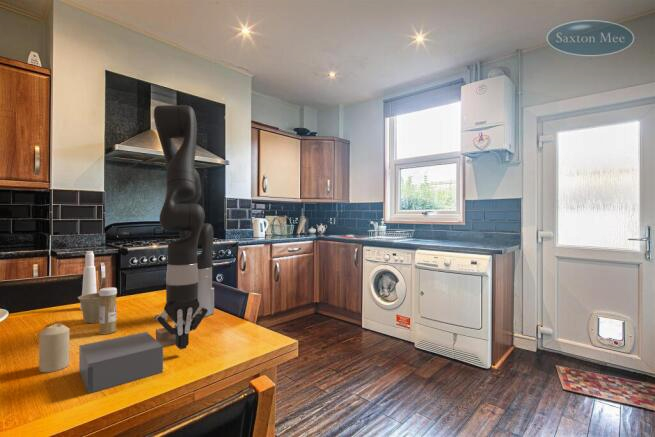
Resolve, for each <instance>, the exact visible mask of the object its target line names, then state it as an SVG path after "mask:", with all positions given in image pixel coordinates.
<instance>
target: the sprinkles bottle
mask: <svg viewBox="0 0 655 437" xmlns="http://www.w3.org/2000/svg"><path fill="white" fill-rule="evenodd" d="M98 291H99V292H98V293H99V296H100V306H99V308H100V312H99V322H98V323H99V332H98V333H99V334H100V335H110V334H113V333H115V332H116V331H117V294H118V289H117V287H103V288H100V289H99V290H98Z"/></svg>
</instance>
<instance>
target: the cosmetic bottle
mask: <svg viewBox="0 0 655 437" xmlns="http://www.w3.org/2000/svg"><path fill="white" fill-rule="evenodd" d="M84 256H85V258H84V260H85V262H84V265H85V266H83V275H82V276H83V277H82V289H81V290H82V292H81V296H82V295H86V294H92V293H98V290H97V288H98V287H97V271H96V266H95V254H94V251H93V250H90V251H89V250H87V251H86V252H85V254H84ZM79 310H81V311H82V307H81V304H80V306H79Z"/></svg>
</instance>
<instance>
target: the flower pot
mask: <svg viewBox="0 0 655 437" xmlns="http://www.w3.org/2000/svg"><path fill="white" fill-rule="evenodd" d="M77 299H78V300H79V303H80V305H81V307H82V310H81V311H82V316H83V322H84V323H85V324H96V323H100V322H99V312H100V308H99V306H100V296H99V292H97V293H92V294H86V295H82V294H81V295H80V296H77Z"/></svg>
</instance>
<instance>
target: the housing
mask: <svg viewBox="0 0 655 437" xmlns="http://www.w3.org/2000/svg"><path fill="white" fill-rule="evenodd" d="M78 350H79V353H78V354H79V356H78V357H79V359H78V360H79V362H78V365H79V366H78V367H79V370H78V371H79V374H80V377H81V379H82V382H83V386H84V388H85V389H86V392H87V394H93V393H96V392H101V391H103V390H106V389H110V388H114V387H117V386H120V385H124V384H127V383H131V382H134V381H137V380H138V381H139V380H140V379H145V378H148V377H152V376H155V375H158V374H161V373H162V374H163V373H164V372H163V371H164V370H163V369H164V347H163V346H162V345H161V344H160V343H159V342H158V341H156V338H154V336H152V335H151V334H150V333H149V332H148V331H143V332H139V333H134V334H130V335H125V336H124V335H123V336H120V337H113V338H109V339H105V340H100V341H95V342H90V343H84V344H81V345H80V344H79V349H78Z"/></svg>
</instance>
